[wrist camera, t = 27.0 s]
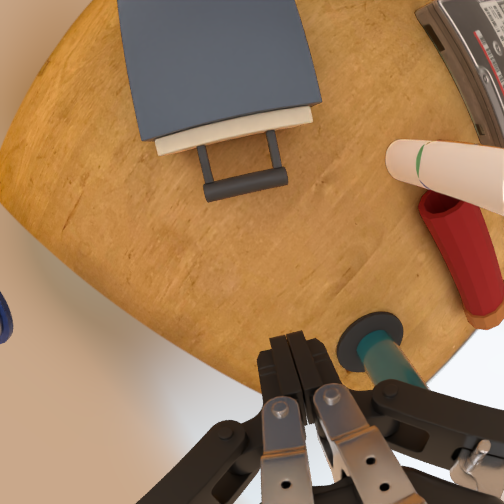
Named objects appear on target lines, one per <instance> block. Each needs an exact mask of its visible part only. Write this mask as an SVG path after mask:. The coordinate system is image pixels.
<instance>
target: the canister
mask: <svg viewBox="0 0 504 504" xmlns="http://www.w3.org/2000/svg"><path fill="white" fill-rule="evenodd" d="M356 354H357V356H358V358H359V360H360V362H361V364H362V365H363V367H364V369H365V371H366V373H367V375H368V376H369V378H370V380H371V382H372V384H373V386H374V387H375V386H376V385H377V384H378V383H379V382H381V381H383V380H387V379H396V380H399V381H402V382H405V383H408V384H412V385H415V386H418V387H421V388H424V389H427V390H430V389H429V387H428V386H427V384H426V383H425V382H424V380H423V379H422V377H421V376H420V375H419V373H418V372H417V370H416V369H415V368H414V366H413V365H412V363H411V362H410V361H409V359H408V358H407V357H406V355H405V354H404V352H403V351H402V350H401V348H400V347H399V346H398V344H397V343H396V342H395V340H394V339H393V338H392V336H391V335H390V334H389V333H388V332H387V331H385V330H376V331H373V332H371V333H369V334H367V335H366V336H365V337H364V338H363V339H362V340H361V341H360V342H359V344H358V346H357V350H356Z"/></svg>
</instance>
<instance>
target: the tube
mask: <svg viewBox="0 0 504 504" xmlns="http://www.w3.org/2000/svg"><path fill="white" fill-rule="evenodd" d="M385 161H386V167H387V169H388V172H389V173H390V175H391V176H392V177H393V178H395V179H397V180H399V181H403V182H406V183H409V184H413V185H416V186H420V187H423V188H426V189H429V190H433V191H436V192H439V193H442V194H445V195H448V196H451V197H454V198H457V199H460V200H462V201H465V202H468V203H471V204H473V205H476V206H479V207H481V208H484V209H487V210H489V211H492V212H494V213H497V214H499V215H502V216H504V149H500V148H493V147H486V146H479V145H471V144H462V143H452V142H440V141H427V140H409V139H399V140H396V141H394V142H393V143H391V144H390V146H389V147H388V149H387V152H386V157H385Z"/></svg>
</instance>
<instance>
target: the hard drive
mask: <svg viewBox="0 0 504 504" xmlns="http://www.w3.org/2000/svg"><path fill="white" fill-rule="evenodd" d="M415 14H416V17H417V19H418V20H419V22H420V23H421V25H422V26H423V28H424V29H425V31H426V32H427V34H428V35H429V37H430V39H431V40H432V42H433V43H434V45H435V47H436V48H437V50H438V52H439V53H440V55H441V57H442V59H443V60H444V62H445V64H446V66H447V68H448V70H449V71H450V73H451V75H452V77H453V79H454V81H455V83H456V85H457V87H458V89H459V91H460V94H461V96H462V98H463V100H464V102H465V104H466V107H467V109H468V111H469V114H470V116H471V119H472V121H473V124H474V126H475V129H476V131H477V134H478V137H479V140H480V142H481V144H482V145H488V146H495V147H500V148H504V0H434V1H432V2H430V3H429V4H427V5H425V6H423V7H421V8H419V9H418V10H417V11H416V12H415Z"/></svg>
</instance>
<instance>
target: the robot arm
mask: <svg viewBox="0 0 504 504" xmlns="http://www.w3.org/2000/svg"><path fill="white" fill-rule="evenodd" d="M2 332H3V322H2V318H1V315H0V336H1V334H2ZM286 337H287V339H286ZM269 339H270V343H271V348H272V349H270V350H265V351H261V352H260V354H259V356H258V358H257V365H258V371H259V378H260V384H261V391H262V396H263V407H262V409H261V411H260V412H259V414H258V415H256V416H255V417H254V418H252V419H250V420H248V421H246V422H244V423H239V422H237V421H233V420H225V421H221V422H219V423H217V424H215V425H214V426H213V427H212V428H211V429H210V430H209V431H208V432H207V433H206V434H205V435H204V436H203V437H202V439H201V440H200V441H199V442H198V443H197V444H196V445H195V446H194V447H193V448H192V449H191V450H190V451H189V452H188V453H187V454H186V455H185V456H184V457H183V458H182V459H181V460H180V462H179V463H178V464H177V465H176V466H175V467H174V468H173V469H172V470H171V471H170V472H169V473H168V474H166V475H165V476H164V478H162V479H161V481H159V482H158V483H157V484H156V485H155V486H154V487H153V488H152V489H151V490H150V491H149V492H148V493H147V494H146V495H145V496H143V497H142V498H141V499H140V500H139V501H138V502H137V503H136V504H233V503H234V502H235V501H236V499H237V498H238V497H239V496H240V495H241V493H242V492H243V490H245V488H246V487H247V486H248V484H249V483H250V482H251V481H252V479H253V478H254V477H255V476H256V474H257V473H258V471H259V469H260V468H261V494H262V502H261V503H260V504H504V502H503V501H502V500H501V499H500V498H501V495H502V493H503V490H504V410H500V409H495V408H491V407H488V406H483V405H479V404H476V403H472V402H468V401H465V400H461V399H458V398H454V397H451V396H447V395H444V394H440V393H437V392H434V391H431V390H427V389H424V388H421V387H418V386H415V385H412V384H408V383H405V382H402V381H399V380H396V379H387V380H383V381H381V382H379V383H378V384H377V385H376V386H375V387H374V388H373V390H366V391H355V390H351V389H348V388H347V387H346V386H344V385H343V384H342V383H341V381H340V379H339V376H338V374H337V372H336V370H335V368H334V366H333V363H332V361H331V359H330V357H329V355H328V353H327V350H326V348H325V346H324V344H323V343H322V342H320V341H319V340H318V339H316V338H314V339H310V340H307V341H306V339H305V337H304V334H303V332H302V330H301V331H297V332H293V333H289V334H286V336H285V335H281V336H277V337H273V338H269ZM287 342H288V343H287ZM306 416H307V419H308V422H309V424H312V423H315V426H316V430H317V437H318V440H319V442H320V444H321V447H322V449H323V452H324V454H325V457H326V459H327V462H328V464H329V466H330V469H331V471H332V474H333V478H334V482H335V483H334V484H331V485H327V486H312V481H311V475H310V468H309V462H308V455H307V449H306V443H305V440H306V433H305V427H304V426H306V425H307V419H306ZM391 449H392V450H394V451H397V452H399V453H402V454H404V455H407V456H410V457H412V458H415V459H418V460H420V461H423V462H426V463H429V464H432V465H435V466H438V467H441V468H444V469H447V470H450V476H451V479H452V480H453V481H454V483H456V484H454V483H451V482H448V481H446V480H443V479H440V478H437V477H435V476H432V475H430V474H427V473H425V472H422V471H419V470H417V469H414V468H411V467H406V466H400V464H399V462H398V460H397V459H396V457H395V455H394V454H393V452H392V450H391ZM457 484H458V485H457Z"/></svg>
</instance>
